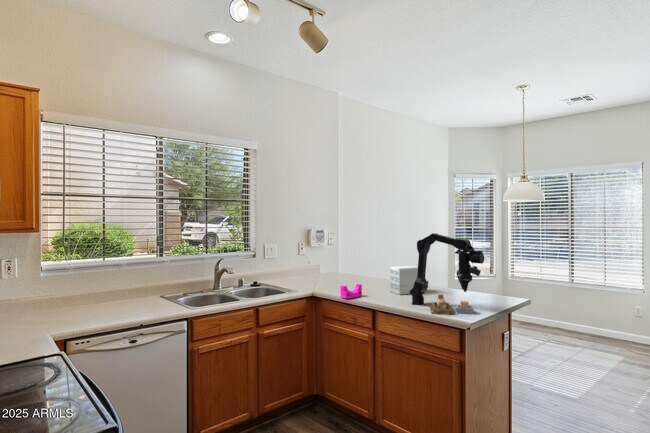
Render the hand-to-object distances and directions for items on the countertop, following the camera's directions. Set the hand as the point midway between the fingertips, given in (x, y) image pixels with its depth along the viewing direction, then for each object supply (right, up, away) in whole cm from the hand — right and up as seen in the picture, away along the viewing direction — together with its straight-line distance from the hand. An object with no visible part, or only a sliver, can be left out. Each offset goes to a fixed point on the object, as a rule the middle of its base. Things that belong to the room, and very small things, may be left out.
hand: (464, 290), depth 216 cm
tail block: (0, -11, 0) cm, 11 cm away
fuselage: (-11, -11, +4) cm, 17 cm away
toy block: (-59, -13, +45) cm, 75 cm away
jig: (-11, -12, +5) cm, 17 cm away
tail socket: (0, -12, 0) cm, 12 cm away
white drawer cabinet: (-21, -13, +59) cm, 64 cm away
